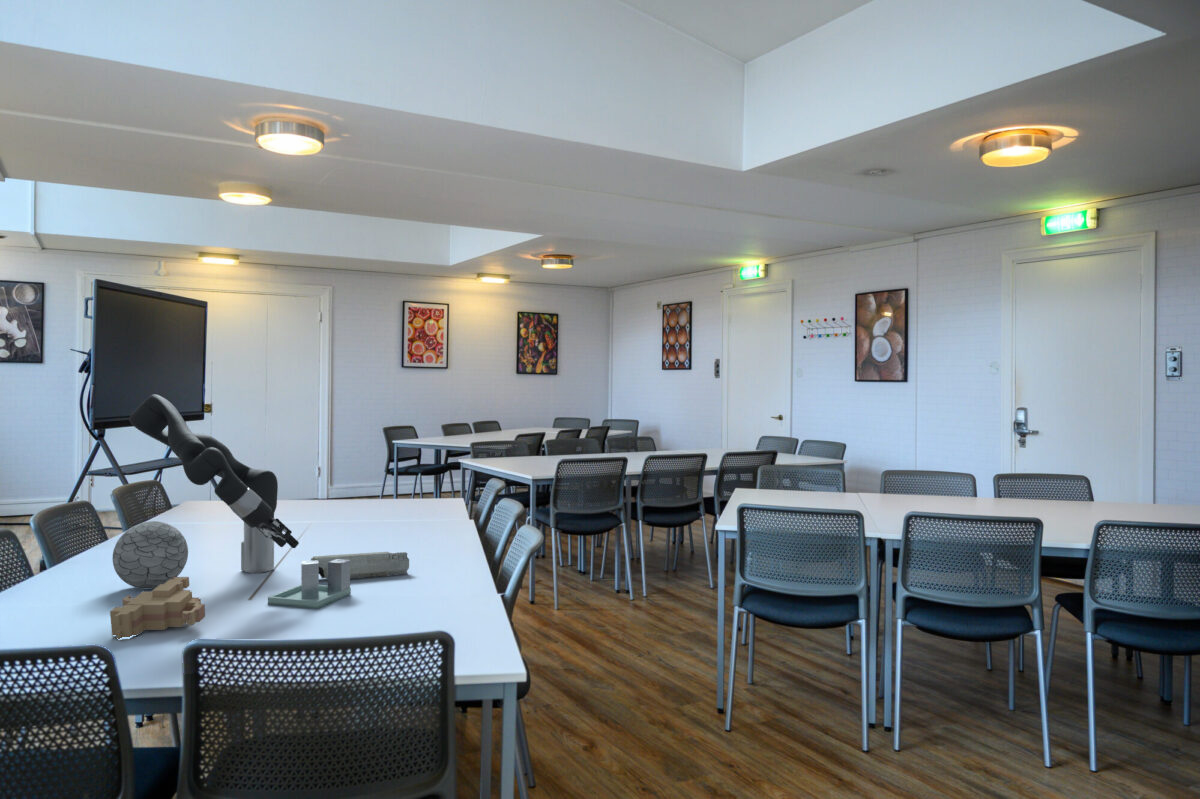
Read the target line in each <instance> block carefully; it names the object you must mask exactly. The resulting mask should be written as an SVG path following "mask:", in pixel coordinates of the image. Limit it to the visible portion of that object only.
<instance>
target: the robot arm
mask: <svg viewBox="0 0 1200 799" xmlns="http://www.w3.org/2000/svg"><path fill="white" fill-rule="evenodd" d="M128 420H129V422H130V424H131V425H132V426H133V427H134V428H135V429H137V430H138V431H139V432H141V433H143V434H145V435H146V436H148V437H150V438H152V439H154V440H156V441H158V442H159V443H162V444H164V445H166V446H168V447H169V448H170V450H171V451H172V453H173V454H174V455H176V457H177V458H178V459H179V460H180V462H181V464H182V468H183V471H184V474H185V476H186V478H187V479H188V481H190V482H191V483H192V484H194V485H196V486H204V485H207V484H208V483H209V482H210V481H212V480H213V478H215V477H216V476H218V477H220V478H221V479H220V480H219V481H218V484H217V485H216V486H215V488H214V494H215V495H216V496H217V497H218V498H219V499H220V500H221V501H223V503H225V505H227V506H228V507H229V508H230V510H231V511H232V512H233V513H234V514H235V515H236V516H237V517H238V518H240V519H241V520H242V521H243V541H241V542H240V546H241V547H240V570H242V571H241V572H244V571H245V572H244V573H250V574H251V573H252V574H256V573H258V574H260V573H265V572H266V573H267V572H271V571H273V570H274V569H275V544H277V546H279V547H280V548H283V547H284V546H286V545H289V546H290V547H291V548H292V549H296V548H297V546H299V544H300V542H299V541H298V540H297V539H296V538H295V537H294V536H293V535H292V530H291V529H290V528H288V526H286V525H285V524H284V523H283V522H282V521H281V520H280V519H279V518H275V512H276V510H277V505H278V490H279V488H278V487H279V486H278V484H279V482H278V478H277V476H276V474H275V472H273V471H271V470H268V469H267V470H266V469H256V468H252V467H249V466H248V465H245V464H244V463H242V462H241V461H239V460H238V459H236V458H235V456H233V453H232V452H231V451H230V449H229V448H228V447H227V446H226V445H225V444H223V443H222V442H221V441H219V440H218V439H216V438H214V437H213V436H212V435H210V434H205V433H194V432H192V431H191V429H190V428H189V426H188V425H187V423H186V421H185V420H184V418H183V416H182V415H181V414H180V412H179V411H178V409H177V408H176V407H175V406H174V404H173V403H171V401H169V400H168V399H166V398H165V397H163V396H161V395H159V394H157V393H155V394H151V395H149V396H148V397H147V398H145V399H144V401H142V402H141V404H140V405H138V406H137V408H136V409H135V410H134V411H133V412H132V413H131V415H130V416H129V418H128ZM166 428H167V430H165V429H166ZM283 532H284V533H283Z"/></svg>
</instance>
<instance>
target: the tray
mask: <svg viewBox="0 0 1200 799" xmlns="http://www.w3.org/2000/svg"><path fill="white" fill-rule="evenodd" d="M327 588H328V585H324V584H319V598H317V599H306V600H303V599H302V597H301V584H299V585H296V586H294V587H291V588H289V589H286V590H283V591H281V592H278V593H276V594H273V595H270V596H268V597H267V605H273V606H283V607H293V608H302V609H315V610H319V609H320V608H323V607H325V605H326V606H328V605H331V604H332V603H334V602H337V601H340V600H341V599H343V597H344V598H345V596H346V597H348V596H350V595H349V594H352V593H351V592H352V588H351V587H350V588H348V589H345V590H343V591H339V592H336V593H334V594H332V595H327ZM347 595H348V596H347Z"/></svg>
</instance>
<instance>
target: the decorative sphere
mask: <svg viewBox="0 0 1200 799" xmlns="http://www.w3.org/2000/svg"><path fill="white" fill-rule="evenodd" d="M188 557H189V547H188V544H187V540H186V538H185V536H184V535H183V534H182V532H181V531H180V530H179V529H178V528H176V526H175V527H174V526H173V525H171V524H169V523H166V522H163V521H156V520H153V521H151V520H150V521H145V522H141V523H138V524H136V525H133V526H131V527H130V528H128V529H127V530H126V531H124V533H123V534H122V535H121V536H120V537H119V538H118V540H117V541H116V543H115V546H114V548H113V551H112V565H113V569H114V571H115V573H116V575H117V576H118V577H119V578H120V580H122V581H123V582H124V583H126V584H127V585H128V586H130V587H134V588H136V589H141V588H153V589H155V588H156V587H157V586H159V585H160V584H164V583H166V582H167V581H168V580H170V579H171V578H172V577H179V575H181V573H182V572H183V571H184V568H185V567H186V564H187V563H188Z"/></svg>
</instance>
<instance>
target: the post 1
mask: <svg viewBox="0 0 1200 799" xmlns="http://www.w3.org/2000/svg"><path fill="white" fill-rule="evenodd" d="M300 566H301V571H300V572H301V573H300V574H301V576H300V577H301V578H300V580H301V582H300V583H301V584H300V585H301V597H302V599H303V600H306V599H317V598H319V585H320V584H319V583H320V582H319V581H320V580H319V579H320V578H319V577H320V574H319V563H318V560H313V561H311V560H302V561H301V564H300Z"/></svg>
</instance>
